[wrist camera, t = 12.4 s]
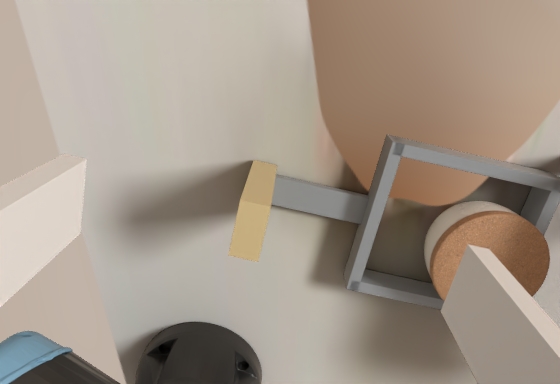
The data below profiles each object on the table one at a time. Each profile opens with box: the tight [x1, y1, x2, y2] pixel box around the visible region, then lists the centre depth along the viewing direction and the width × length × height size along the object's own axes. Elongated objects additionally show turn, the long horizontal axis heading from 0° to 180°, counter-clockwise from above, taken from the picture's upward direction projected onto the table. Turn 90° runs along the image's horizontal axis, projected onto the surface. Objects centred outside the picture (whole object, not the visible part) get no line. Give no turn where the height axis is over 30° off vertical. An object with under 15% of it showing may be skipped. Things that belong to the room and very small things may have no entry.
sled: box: [229, 135, 560, 310], centre depth 43 cm, size 16×30×12 cm, turn 77°
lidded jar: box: [424, 201, 550, 301], centre depth 45 cm, size 11×11×9 cm
